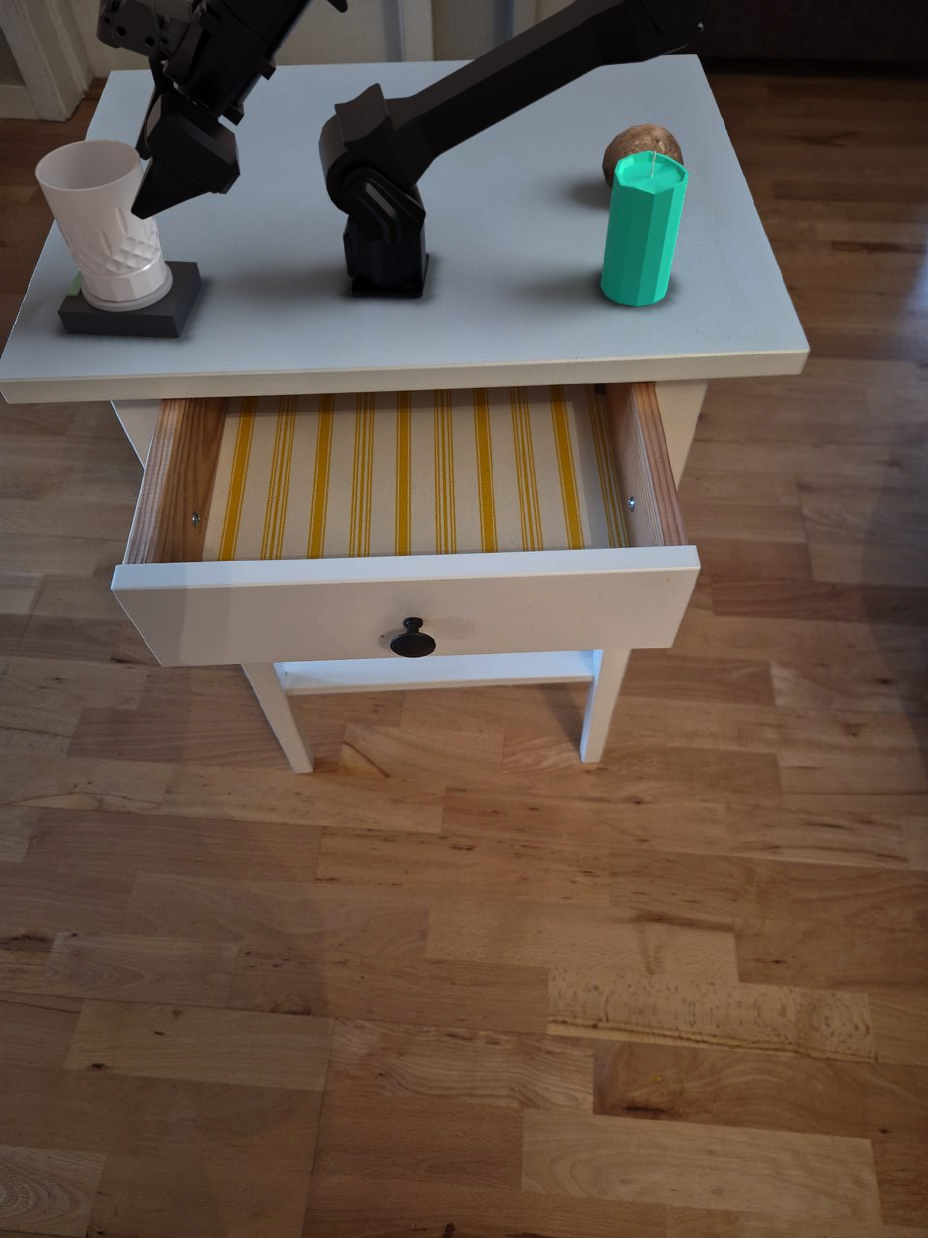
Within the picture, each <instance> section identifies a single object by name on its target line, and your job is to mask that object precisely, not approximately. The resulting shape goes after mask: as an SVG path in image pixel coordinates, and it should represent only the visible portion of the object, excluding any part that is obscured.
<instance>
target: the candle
mask: <svg viewBox="0 0 928 1238" xmlns="http://www.w3.org/2000/svg"><path fill="white" fill-rule="evenodd" d="M689 176H690V172H689V171H688V170H687V169H686V168H685V166H682V165H681V164H679V163H678V162H676V161H674V160H673V159H671V158H669V157H668V156H665V155H662V154H659V153H656V151H654V152H652V151H645V152H641V153H636V154H632V155H629V156H627V157H625V158H623V159H621V160H619V161H618V163H617V166H616V169H615V173H614V181H613V189H612V190H611V196H610V197H611V198H610V206H609V212H608V213H609V214H608V220H607V221H608V223H607V231H606V238H605V247H604V255H603V262H602V270H601V276H600V277H601V279H600V286H599V287H600V288H601V290H602V292H603V294H604V296H605V297H607V298H608V299H609V300H611V301H614V302H615V303H618V304H619V305H625V306H629V307H630V306H632V307H636V308H637V307H642V306H648V305H654V304H656V303H658V302H659V301H660V300H662V299H663V298H665V296H666V293H667V290H668V285H669V281H670V275H671V270H672V265H673V260H674V254H675V250H676V245H677V239H678V233H679V228H680V223H681V218H682V212H683V207H684V201H685V197H686V191H687V187H688V183H689Z"/></svg>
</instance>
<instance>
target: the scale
mask: <svg viewBox="0 0 928 1238" xmlns="http://www.w3.org/2000/svg"><path fill="white" fill-rule="evenodd" d="M164 262H165V266H166V270H167V274H166V277H165V280H164V283H163V284H162V285H161V286H160V287H159V288H157V289H156V290H155V291H154V292H153V293H151V294H148V295H146V296H144V297H141V298H139V299H135V300H128V301H121V302H116V301H109V300H102V299H100V298H99V297H97V296H95V295H93V294H92V293H90V291H89V289H88V286H87V284H86V282H85V279H84V277H83V275H82V272H81V270H80V269H79V270H78V272H77V273H76V274H75V277H74V279H73V281H72V282H71V284H70V286H69V288H67V291H66V293H65V297H64V298H63V301H61V304H60V305H59V307H58V310H57V312H56V313H57V314H58V317H59V319H60V322H61V324H62V327H63V328H64V331H65V333H66V334H75V335H76V334H77V335H79V334H80V335H102V336H103V335H104V336H130V337H152V338H153V337H154V338H177V339H178V338H180V337H181V335H182V332H183V330H184V328H185V325H186V323H187V321H188V319H189V317H190V314H191V312H192V310H193V307H194V305H195V302H196V301H197V297H198V295H199V293H200V290H201V288H202V286H203V280H202V277H201V273H200V270H199V265H198V262H197V261H180V260H179V261H178V260H164Z"/></svg>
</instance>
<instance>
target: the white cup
mask: <svg viewBox="0 0 928 1238" xmlns="http://www.w3.org/2000/svg"><path fill="white" fill-rule="evenodd" d="M144 173H145V171H144V169H143V164H142V159H141V158H140V156H139V153H138V152H137V150H136V149H135V147H133V146H132V145H131V144H128V143H126V142H124V141H119V140H115V139H106V138H105V139H104V138H101V139H100V138H97V139H85V140H80V141H76V142H75V141H74V142H71V143H68V144H65V145H62V146H60V147H58V148H56V149H53V150H52V151H50V152H49V153H47V154H46V155H44V156H43V157H42V158H41V159H40V160H39V161H38V163H37V164H36V167H35V170H34V174H35V178H36V180H37V182H38V184H39V186H40V189H41V191H42V193H43V195H44V198H45V200H46V202H47V204H48V207H49V209H50V211H51V213H52V216H53V218H54V221H55V222H56V226H57V227H58V230H59V232H60V233H61V235H62V237H63V239H64V242H65V245H66V246H67V248H68V250H69V252H70V254H71V257H72V259H73V261H74V262H75V263H76V265H77V266H78V269H79V270H81V272H82V275H83V277H84V279H85V282H86V284H87V286H88V289H89V291H90V293H92V294H93V295H95V296H97V297H99V298H100V299H102V300H109V301H116V302H121V301H128V300H135V299H139V298H141V297H144V296H146V295H148V294H151V293H153V292H154V291H155V290H156V289H157V288H159V287H160V286H161V285H162V284H163V283H164V280H165V277H166V274H167V270H166V266H165V262H164V261H165V259H164V255H163V251H162V248H161V241H160V233H159V229H158V225H157V220H156V216H155V215H156V214H155V215H153V216H151V217H149V218H147V219H144V220H142V219H140V218H138V217H136V216H135V215H133V214H132V213H131V206H132V203H133V201H134V198H135V195H136V193H137V190H138V188H139V185H140V183H141V180H142V178H143V175H144Z"/></svg>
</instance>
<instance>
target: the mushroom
mask: <svg viewBox="0 0 928 1238" xmlns="http://www.w3.org/2000/svg"><path fill="white" fill-rule="evenodd" d="M645 151H652V152H654V151H656V153H659V154H662V155H665V156H668V157H669V158H671V159H673V160H674V161H676V162H678V163H679V164H681V165H682V166H683V167H685V162H684V157H683V153H682V148H681V147H680V145H679V143H678V141H677V140H676V137H675V136H674V134H673V133H671V132H670V131H669V130H668V129H667V128H665V126H661V125H658V124H657V125H656V124H654V123H649V122H648V123H642V124H637V125H632V126H630V127H628V128H627V129H625V130H623V131H622V132H620V133H618V134H617V135H616V136H615V137H614V138H613V139H612V140H611V142H610V143H609V144H608V146H607V147H606V148H605V150H604V154H603V158H602V163H601V169H602V172H603V177H604V180H605V183H606V184H607V186H608V187H609V189H610V190H611V191H612V189H613V181H614V173H615V169H616V166H617V163H618V161H619V160H621V159H623V158H625V157H627V156H629V155H632V154H636V153H641V152H645Z"/></svg>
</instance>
